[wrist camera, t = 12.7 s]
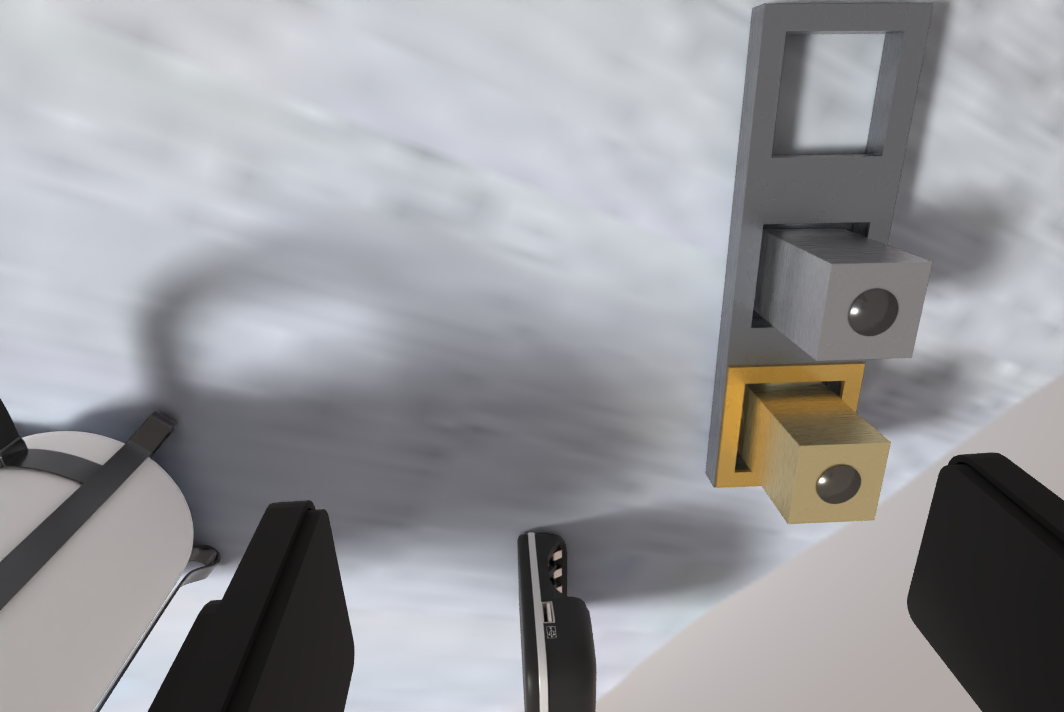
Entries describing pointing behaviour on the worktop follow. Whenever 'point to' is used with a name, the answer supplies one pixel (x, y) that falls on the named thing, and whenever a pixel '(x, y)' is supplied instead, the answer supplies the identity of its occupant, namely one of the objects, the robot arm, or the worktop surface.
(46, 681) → the coffee press
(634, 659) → the worktop surface
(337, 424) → the worktop surface
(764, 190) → the grey block holder rack
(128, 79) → the worktop surface
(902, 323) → the grey block with knob
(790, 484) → the wooden block with knob
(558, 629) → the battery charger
